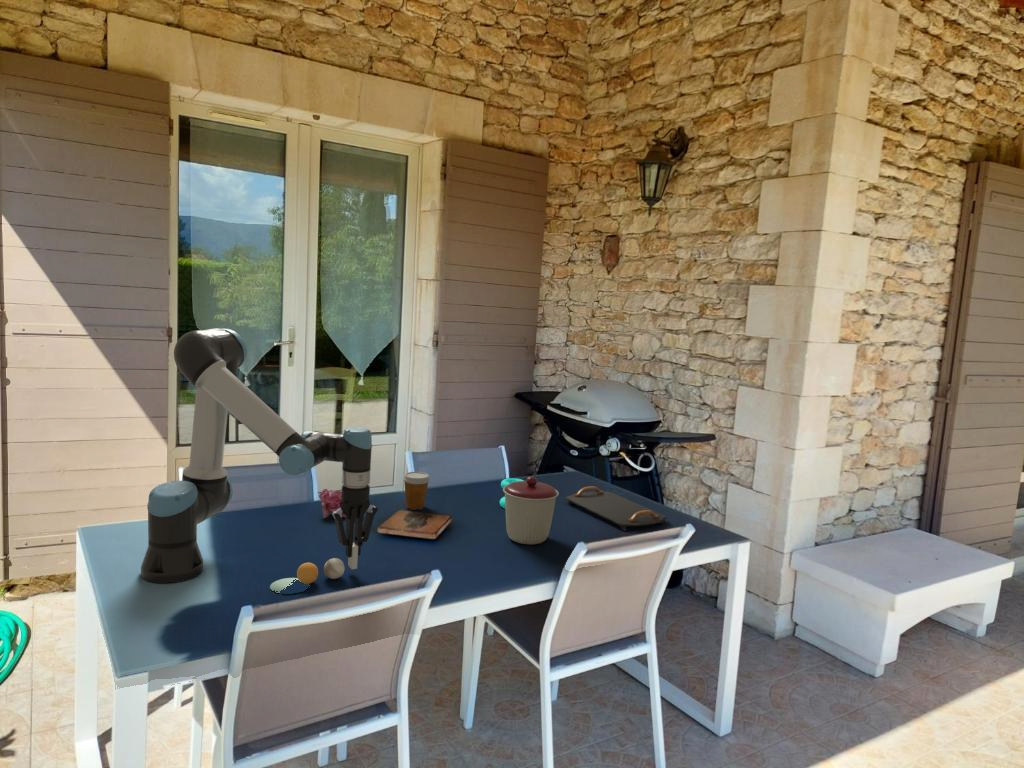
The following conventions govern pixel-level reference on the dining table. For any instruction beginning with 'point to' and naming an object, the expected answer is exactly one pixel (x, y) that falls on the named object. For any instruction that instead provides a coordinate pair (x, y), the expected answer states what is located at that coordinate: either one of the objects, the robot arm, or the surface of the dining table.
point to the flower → (330, 501)
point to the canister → (529, 510)
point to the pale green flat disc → (282, 584)
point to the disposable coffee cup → (415, 489)
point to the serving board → (615, 508)
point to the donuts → (503, 484)
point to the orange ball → (307, 573)
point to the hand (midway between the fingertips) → (352, 567)
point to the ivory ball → (334, 568)
